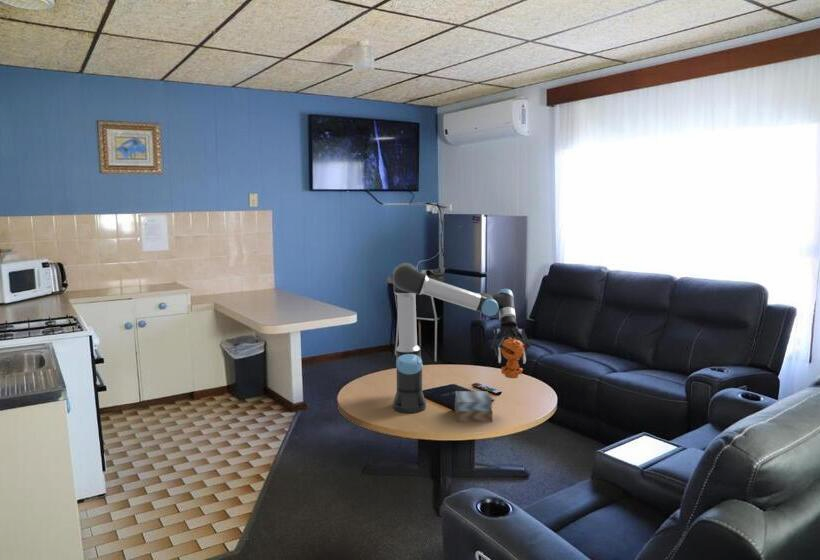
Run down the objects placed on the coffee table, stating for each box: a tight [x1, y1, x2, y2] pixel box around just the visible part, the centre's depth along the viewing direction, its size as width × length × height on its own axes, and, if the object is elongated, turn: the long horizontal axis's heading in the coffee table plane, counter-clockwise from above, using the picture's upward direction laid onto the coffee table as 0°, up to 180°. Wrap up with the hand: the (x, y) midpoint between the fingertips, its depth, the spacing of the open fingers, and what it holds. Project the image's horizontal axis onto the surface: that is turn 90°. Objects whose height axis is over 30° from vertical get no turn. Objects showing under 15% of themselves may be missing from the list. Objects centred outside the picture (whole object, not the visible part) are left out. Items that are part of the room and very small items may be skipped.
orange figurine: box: [500, 337, 525, 379], centre depth 261 cm, size 11×11×18 cm
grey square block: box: [454, 390, 493, 423], centre depth 259 cm, size 15×15×8 cm
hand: (512, 361), depth 258 cm, fingers closed on orange figurine, 10 cm apart
